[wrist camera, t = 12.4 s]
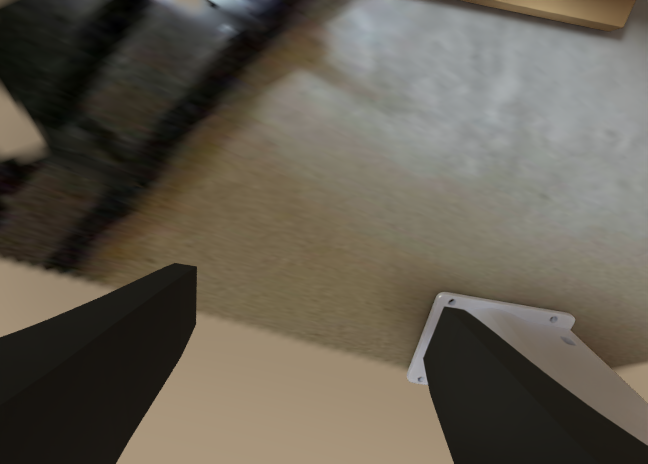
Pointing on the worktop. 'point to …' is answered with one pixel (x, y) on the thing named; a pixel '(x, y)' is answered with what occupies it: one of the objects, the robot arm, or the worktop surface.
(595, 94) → the worktop surface
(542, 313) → the robot arm
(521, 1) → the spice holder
